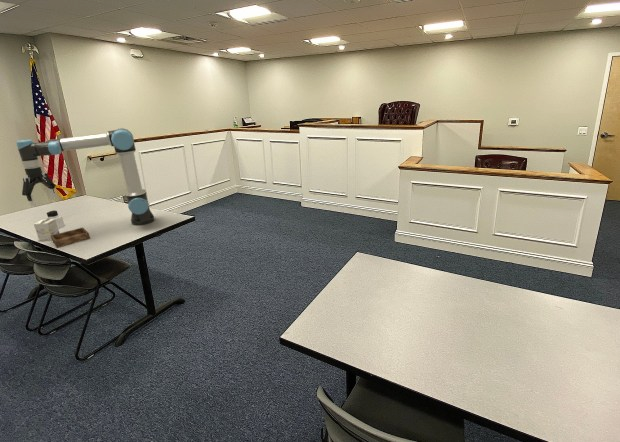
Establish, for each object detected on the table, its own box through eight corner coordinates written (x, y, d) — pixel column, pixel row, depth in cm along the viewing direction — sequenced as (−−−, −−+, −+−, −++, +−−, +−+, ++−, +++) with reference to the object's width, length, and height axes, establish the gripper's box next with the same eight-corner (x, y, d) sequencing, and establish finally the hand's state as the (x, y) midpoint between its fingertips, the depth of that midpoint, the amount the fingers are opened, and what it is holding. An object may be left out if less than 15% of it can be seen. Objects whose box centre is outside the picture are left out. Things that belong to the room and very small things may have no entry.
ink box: (47, 235, 230) (41, 216, 225) (60, 235, 230) (54, 215, 225) (39, 241, 221) (32, 221, 217) (52, 240, 222) (46, 220, 217)
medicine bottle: (65, 225, 247) (60, 209, 243) (55, 229, 240) (50, 213, 236) (58, 225, 249) (52, 209, 245) (48, 228, 243) (42, 212, 239)
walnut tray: (84, 232, 231) (83, 227, 230) (90, 238, 221) (88, 232, 220) (52, 241, 220) (50, 235, 219) (56, 247, 210) (54, 241, 208)
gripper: (45, 163, 213) (55, 196, 220) (6, 172, 189) (18, 209, 197) (56, 163, 211) (66, 196, 219) (17, 172, 188) (30, 209, 196)
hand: (43, 202), depth 208 cm, fingers open, 13 cm apart
